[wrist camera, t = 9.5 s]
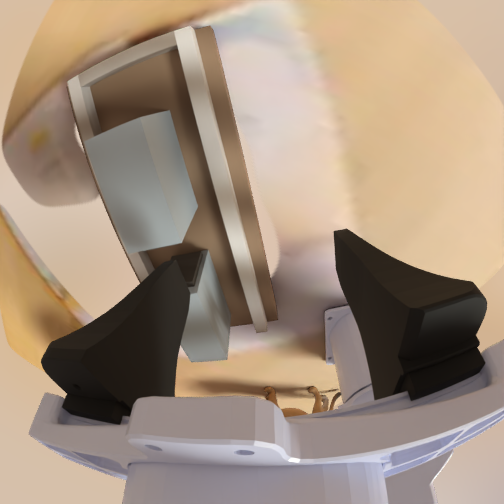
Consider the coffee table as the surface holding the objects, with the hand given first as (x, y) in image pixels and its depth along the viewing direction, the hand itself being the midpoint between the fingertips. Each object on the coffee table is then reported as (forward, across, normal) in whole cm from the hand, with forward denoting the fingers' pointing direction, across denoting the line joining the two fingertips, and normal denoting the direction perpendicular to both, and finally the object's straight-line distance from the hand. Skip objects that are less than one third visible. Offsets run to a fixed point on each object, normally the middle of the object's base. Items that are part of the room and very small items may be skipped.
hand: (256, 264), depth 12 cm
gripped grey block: (+8, +6, -4) cm, 10 cm away
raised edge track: (+9, +6, 0) cm, 11 cm away
